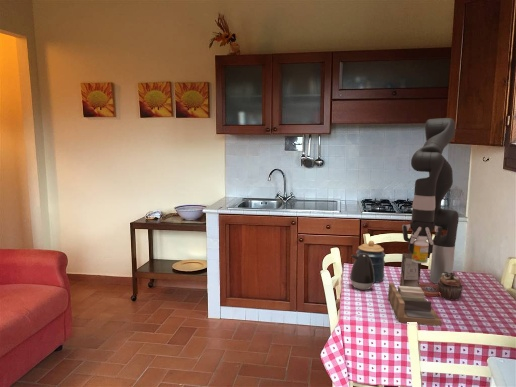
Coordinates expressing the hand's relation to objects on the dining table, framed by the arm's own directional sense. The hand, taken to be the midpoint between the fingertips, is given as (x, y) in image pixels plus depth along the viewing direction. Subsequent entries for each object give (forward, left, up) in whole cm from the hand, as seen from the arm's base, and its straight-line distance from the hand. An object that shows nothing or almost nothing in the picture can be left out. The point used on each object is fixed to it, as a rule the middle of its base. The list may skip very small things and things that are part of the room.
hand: (419, 253), depth 153 cm
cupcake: (-20, +18, -22) cm, 35 cm away
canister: (-37, -12, -22) cm, 45 cm away
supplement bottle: (0, 0, -3) cm, 3 cm away
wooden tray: (0, -1, -22) cm, 22 cm away
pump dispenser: (-23, -17, -22) cm, 36 cm away
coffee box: (-20, +2, -22) cm, 30 cm away
